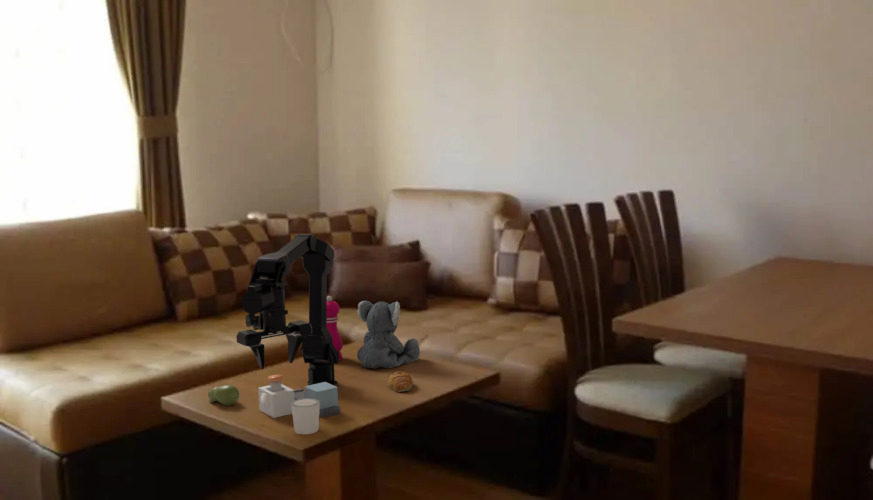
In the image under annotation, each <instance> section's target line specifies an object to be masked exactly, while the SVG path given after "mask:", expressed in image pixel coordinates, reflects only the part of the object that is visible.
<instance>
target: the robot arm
mask: <svg viewBox="0 0 873 500" xmlns="http://www.w3.org/2000/svg"><path fill="white" fill-rule="evenodd" d="M299 259H302V264H303V265H302V266H303V269H304V270H305V272H306V274H307V275H308V322H307V321H305V320H295V321H289V322H288V324H287V321H286V315H288V314H289V310H288V309H286V302H285V299H286V297H285V287H286V286H287V285H288V282H287V280H286V279H285V278H286V277H287V276H288V274H289V273H290V272H291V266H292V265H293V264H294V263H296V261H298V260H299ZM334 259H335V250H334V249H333V247H331V244H329V243H327V242H325V241H324V240H322V239H319V238H317V237H316V235H313V234H311V233H310V234H309V233H308V234H305V233H299V234H296V235H295V236H294V238H293V239H291V241H289V242H287V243H286V244H285V245H284V246H282V247H281V248H280V249H279V250H277V251H275V252H271V253H266V254H264V255H261V256H259V257H258V259H257V260H256V262H255V265H254V267H253V271H252V274H251V278H250V279H249V286H247V291H246V292H245V293H244V294H243V296H242V298H241V300H240V301H241V302H240V303H241V307H242V310H244V312H246V313H247V314H245V326H246V328H251V327H252V328H253V329H245V330H240V331H238V332H237V334H236V336H235V337H236V343H238V344H240V345H242V346H245V347H249V348H250V350H251V351H252V353H253V355H254V357H255V359H256V362H257V364H258V366H259V369H260V370H264V368H265V344H263V343H262V340H263V339H264V340H265V339H269V338H274V337H281V336H285V337H286V339H287V349H288V352H287V353H288V354H287V355H288V356H287V357H288V363H289V364H293V362H294V360H295V357H296V355H297V353H298V350H299V348H300V347H301V348H300V349H301V354H302V357H303V362H304V364H309V368H308V370H307V372H308V373H307V375H308V378H307V379H308V380H307V381H306V383H307V384H309V385H313V384H318V383H322V382H327V383H329V384H331V385H337V384H338V383H339V382H338V381H337V380H335V365H337V364H339V363H338V362H339V361H340V360H339V353H338V351H337V350H336V348H335V347H334V345H333V340H332V336H331V334H330V332H329V330H328V329H327V296H328V294H327V293H328V292H327V291H328V287H327V286H328V275H329V273H330V271H331V269H332V268H333V266H334ZM257 314H258V315H257ZM258 330H260V331H258ZM261 330H262V331H261Z"/></svg>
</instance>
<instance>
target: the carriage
mask: <svg viewBox="0 0 873 500" xmlns="http://www.w3.org/2000/svg"><path fill="white" fill-rule="evenodd" d="M304 392H305V398H312V399H317V400H319V402H320V408H319V417H321V414H320V410H321V409H325V408H329V407H333V406H339V396H338V387H337V386H336V385H335V384H333V385H331V384H329V383H327V382H322V383H318V384H313V385H311V384H309V385H305V386H304Z"/></svg>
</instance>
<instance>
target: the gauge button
mask: <svg viewBox="0 0 873 500" xmlns="http://www.w3.org/2000/svg"><path fill="white" fill-rule="evenodd" d="M267 379H268V382H269V385H270V391H271V392H276V391H281V390H282V387H281V384H282V381H283V375H282V374H272V375H269V376H268V377H267Z"/></svg>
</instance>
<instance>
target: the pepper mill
mask: <svg viewBox="0 0 873 500" xmlns="http://www.w3.org/2000/svg"><path fill="white" fill-rule="evenodd" d="M339 313H340V305H339V303H338V302H336V300H335V301H334V300H333V297H332V296H331V295H327V329H328V330H329V332H330V334H331V336H332V340H333V345H334V347H335V348H336V350H337V351H338V353H339V361H341V360H342V359H343V353H342V352H341V351H342V350H343V347H344V343H343V339H342V337H341V335H340V333H339V330H338V322H339V315H338V314H339Z"/></svg>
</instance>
